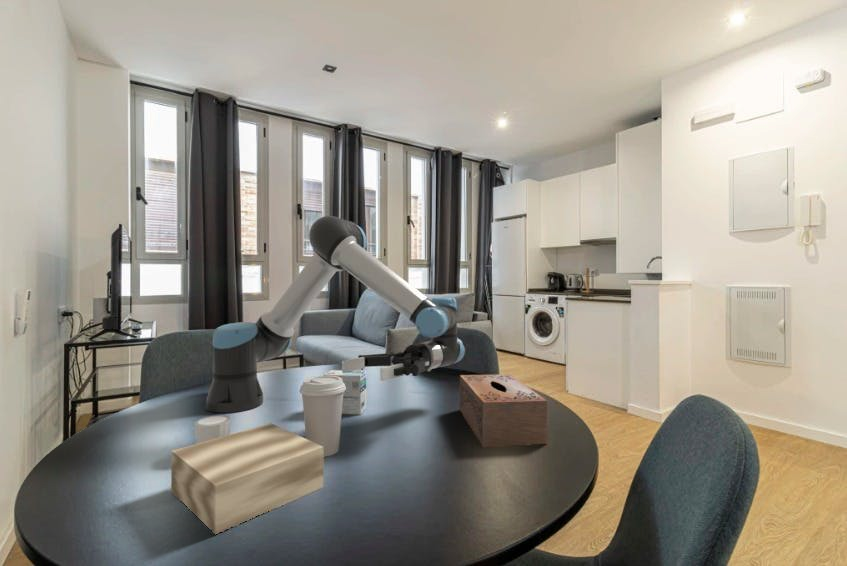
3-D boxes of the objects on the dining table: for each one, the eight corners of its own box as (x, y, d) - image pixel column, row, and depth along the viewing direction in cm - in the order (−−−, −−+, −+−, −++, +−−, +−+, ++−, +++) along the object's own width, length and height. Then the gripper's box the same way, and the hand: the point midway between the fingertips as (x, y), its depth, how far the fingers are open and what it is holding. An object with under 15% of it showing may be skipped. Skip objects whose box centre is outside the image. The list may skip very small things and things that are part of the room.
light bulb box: (367, 407, 115) (367, 369, 115) (361, 415, 109) (361, 375, 109) (330, 406, 116) (330, 369, 116) (322, 414, 110) (322, 374, 110)
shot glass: (193, 463, 80) (193, 428, 80) (194, 450, 86) (194, 417, 86) (231, 456, 83) (231, 422, 83) (230, 444, 89) (230, 412, 89)
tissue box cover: (547, 445, 89) (547, 400, 89) (483, 448, 88) (483, 402, 88) (509, 409, 115) (509, 374, 115) (459, 410, 113) (459, 375, 113)
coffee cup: (297, 445, 88) (297, 377, 88) (340, 439, 92) (340, 373, 92) (302, 463, 79) (302, 387, 79) (350, 455, 83) (350, 382, 83)
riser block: (171, 492, 69) (171, 450, 69) (271, 457, 82) (271, 423, 82) (215, 535, 57) (215, 485, 57) (323, 487, 70) (323, 446, 70)
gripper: (459, 377, 101) (400, 396, 85) (389, 365, 117) (328, 378, 101) (459, 347, 101) (399, 360, 85) (389, 339, 117) (328, 348, 101)
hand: (361, 370), depth 93 cm, fingers open, 13 cm apart
